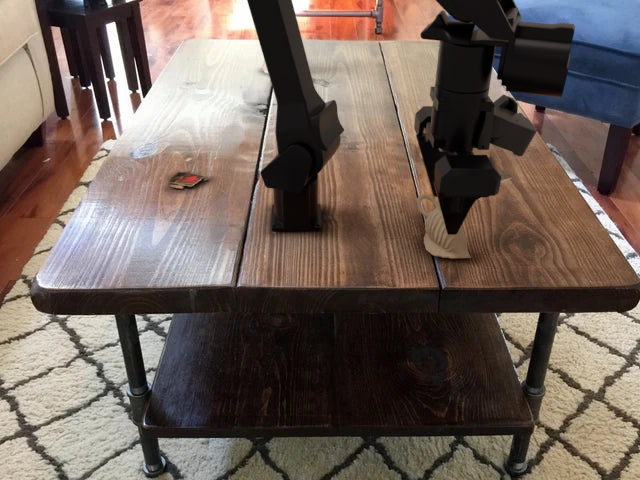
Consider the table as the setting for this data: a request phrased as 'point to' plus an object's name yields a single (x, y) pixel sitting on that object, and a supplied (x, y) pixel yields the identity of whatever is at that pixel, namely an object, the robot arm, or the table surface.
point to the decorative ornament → (441, 234)
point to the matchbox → (185, 179)
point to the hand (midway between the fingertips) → (444, 214)
